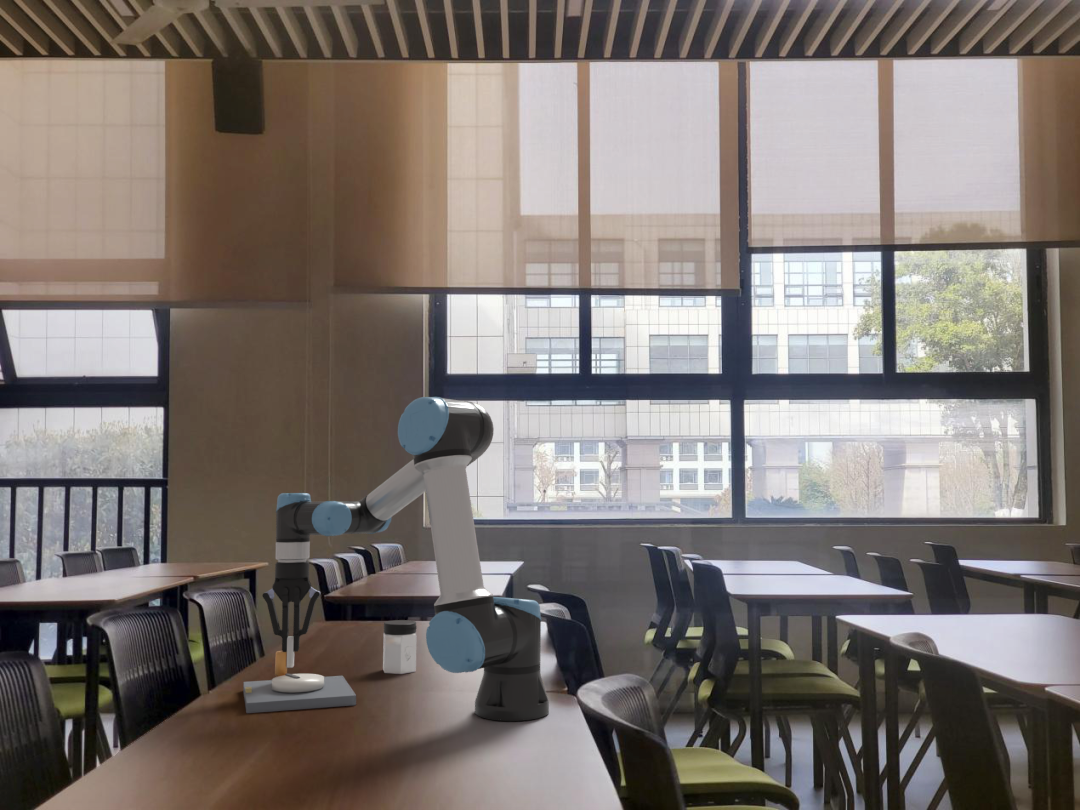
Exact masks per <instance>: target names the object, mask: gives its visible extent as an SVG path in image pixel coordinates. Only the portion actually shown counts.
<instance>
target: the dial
mask: <svg viewBox="0 0 1080 810" xmlns="http://www.w3.org/2000/svg"><path fill="white" fill-rule="evenodd" d="M274 660H275V662H274V676H276V677H273V678H272V679H271V680H272V690H274V691H278V692H307V691H314V690H318V689H321V688H323V687H324V677H325V676H324V675H321V674H318V673H288V668H287V652H283V651H282V650H276V651H275V659H274Z"/></svg>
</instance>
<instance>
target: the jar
mask: <svg viewBox="0 0 1080 810" xmlns="http://www.w3.org/2000/svg"><path fill="white" fill-rule="evenodd" d="M382 641H383V644H382V645H383V648H382V651H383V652H382V670H383V673H384V674H392V675H394V674H395V675H403V674H409V673H415V672H416V671H417V622H416V621H415V620H408V619H407V620H405V619H399V620H398V619H395V620H388V621H384V622H383V640H382Z"/></svg>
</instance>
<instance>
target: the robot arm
mask: <svg viewBox="0 0 1080 810" xmlns="http://www.w3.org/2000/svg"><path fill="white" fill-rule="evenodd" d="M400 415H401V416H400V417H399V420H398V425H397V437H398V441H399V444H400V446H401V448H402V449H404V450H405V452H407V453H408V454H410V455H412V458H413V459H412V460H410V461H409V462H407V463H406V464H405V465H404V466H403V467H401V468H399V470H397V471H396V472H395V473H394V474H392V475H391V476H389V478H387V479H386V480H385V481H383V482H382V483H381V484H380V485H378V486H377V487H376V488H375V489H373V490H372V491H371V492H370V493H368V494H367V495H365V496H364V497H363V498H361V499H359V500H357V501H356V500H353V501H352V500H351V501H350V500H348V501H341V500H339V501H337V500H326V501H325V500H324V501H323V500H321V501H312V499H311V494H310V493H306V492H290V493H288V492H287V493H286V492H282V493H280V494H279V495H278V496H277V500H276V501H277V502H276V510H275V515H276V517H275V518H276V519H275V520H276V521H275V522H276V524H275V525H276V526H275V534H276V536H275V560H277V561H276V562H275V564H274V565H275V568H274V571H275V572H274V582H273V584H272V586H271V587H272V588H271V589H269V590H267V591H265V592H263V593H262V598H263V599H264V601H265V602H266V604H267V609H268V613H269V617H270V622H271V627H272V630H273V634H274V636H279V637H281V651H283V652H287V669H288V668H289V669H292V668H294V666H295V652H299V650H300V637H301V636H303V635H306V634H307V633H308V631H309V627H310V624H311V621H312V616H313V613H314V610H315V609H314V608H315V605H316V602H317V600H318V598H319V597H320V596H321V591H320V590H317V589H315V588H314V587H312V583H311V582H310V562H309V561H308V560H309V559H310V557H311V556H310V552H311V551H310V549H311V548H310V547H311V546H310V545H311V542H310V541H311V539H310V538H311V536H325V537H330V536H331V537H336V536H342V535H350V534H351V535H356V534H366V535H367V534H368V535H369V534H370V535H373V534H376V533H382V532H384V531H386V530H387V529H388V528H389V526H390V524H391V523H392V517H393V516H395V515H396V514H398V513H399V512H400V511H401V510H403V509H404V508H405V507H406V506H408V505H409V504H411V503H412V502H414V501H415V500H416V499H418V498H419V497H420V496H422V495H423V494H424V493H425V496H426V502H427V509H428V516H429V523H430V529H431V538H432V545H433V551H434V559H435V560H434V561H435V565H436V573H437V580H438V587H439V597H438V598H437V599H436V601H435V602H434V604H433V607H434V616H433V617H432V618H431V619H430V621H429V623H428V624H429V625H428V626H427V628H426V631H425V632H426V633H425V640H426V641H425V642H426V646H427V649H428V652H429V654H430V656H431V658H432V659H433V661H434V662H435V663H436V664H437V665H438V666H440V667H441V669H443V670H445V671H446V672H448V673H451V674H452V673H453V674H461V673H472V672H475V671H477V670H480V669H483V673H482V674H483V675H482V679H481V681H480V685H479V688H478V690H477V693H476V697H475V701H474V714H475V715H476V716H477V717H479V718H483V719H487V720H493V721H499V722H500V721H502V722H503V721H504V722H520V721H522V722H523V721H530V720H531V721H532V720H537V719H540V718H543V717H546V716H547V715H548V714H549V713H550V702H549V698H548V694H547V691H546V687H545V685H544V682H543V678H542V674H541V651H542V649H541V640H542V637H541V634H542V633H541V631H542V629H541V628H542V627H541V626H542V620H543V619H542V616H541V615H542V614H541V605H540V604H539V602H538V601H537V600H535V599H525V598H523V599H522V598H513V597H512V598H511V597H500V596H494V595H493V593H492V592H490V591H489V590H487V589H486V587H485V585H484V580H483V579H484V578H483V573H482V566H481V561H480V554H479V547H478V541H477V535H476V527H475V526H476V525H475V521H474V514H473V507H472V500H471V495H470V488H469V483H468V481H469V480H468V475H467V467H468V466H470V465H471V464H472V463H474V462H475V461H477V460H478V459H479V458H480V457H481V456H483V455H484V454H485V452H487V450H488V449H489V447H490V446H491V443H492V441H493V436H494V424H493V420H492V417H491V416H490V414H489V412H488V411H487V410H486V409H485V408H484V407H482V406H481V405H479V404H478V403H475V402H473V401H467V400H458V399H457V400H456V399H450V398H444V397H441V396H422V397H418V398H416V399H414V400H412V401H411V402H410V403H409V404H408V405H407V406H406V407H405V408H404V411H403V413H401V414H400ZM308 593H309V594H308ZM306 595H308V597H309V599H310V600H309V602H308V606H307V609H306V613H305V617H304V621H303V624H302V628H301V605H302V604H301V603H302V601H303V600H304V598H305V597H306ZM275 596H277V597H278V599H279V600H280V601H281V602H282V604H281V607H282V611H281V613H282V614H281V615H282V616H281V618H282V619H281V621H282V622H281V626H280V621H279V617H278V614H277V609H276V605H275V600H274V598H275ZM290 603H293V627H292V628H293V629H292V631H293V632H292V633H293V634H292V636H291V635H290V636H289V634H290V632H289V631H290V627H289V626H290Z"/></svg>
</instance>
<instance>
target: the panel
mask: <svg viewBox="0 0 1080 810" xmlns="http://www.w3.org/2000/svg"><path fill="white" fill-rule="evenodd" d="M242 684H243V690H242V692H243V697H244V698H243V700H244V707H245V712H246V714H253V713H254V714H255V713H268V712H270V713H271V712H282V711H294V710H295V711H296V710H307V709H308V710H309V709H321V708H322V709H324V708H333V707H345V706H346V707H350V706H356V705H357V695H356V693H355V691H354V690H353V689H352V687H351V685H350V684H349V683H348V681H347V680H346V678H345V677H344V676H343V675H333V676H324V687H323V688H321V689H318V690H314V691H307V692H278V691H274V690H272V679H270V680H267V679H266V680H253V681H243V683H242Z"/></svg>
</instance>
